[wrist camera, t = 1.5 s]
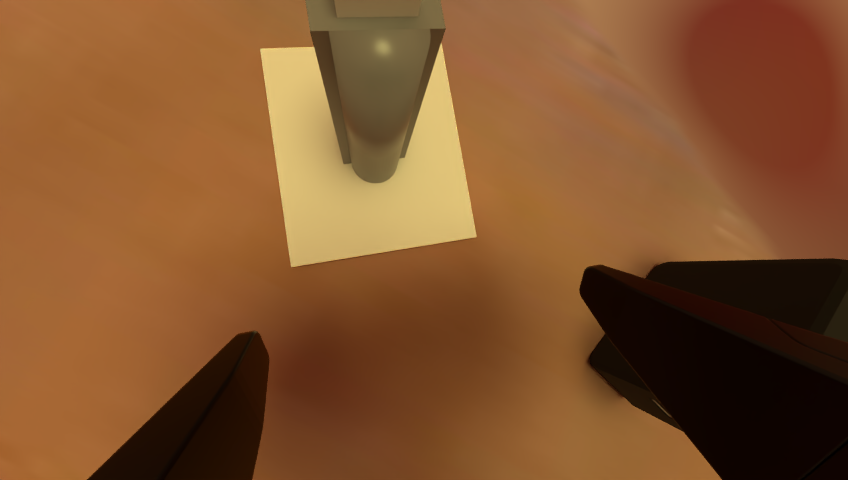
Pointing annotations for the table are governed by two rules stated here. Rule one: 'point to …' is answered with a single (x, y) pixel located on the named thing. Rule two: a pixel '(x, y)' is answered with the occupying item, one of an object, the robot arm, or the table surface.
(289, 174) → the mat
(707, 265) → the electronic device
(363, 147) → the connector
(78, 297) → the table surface
